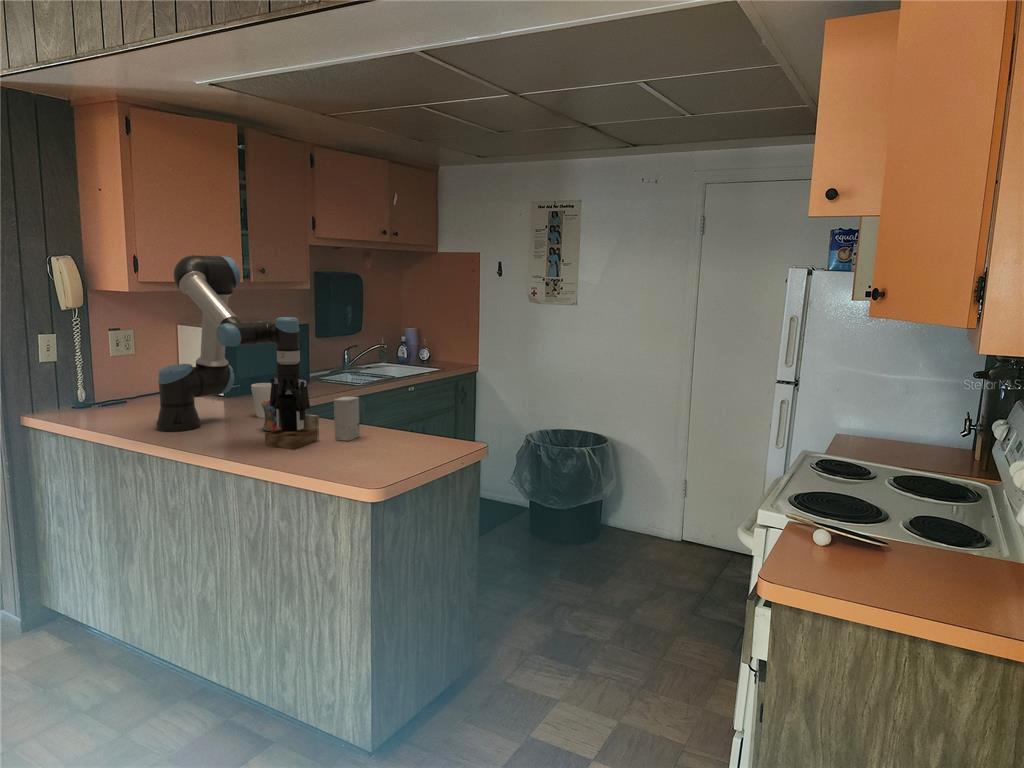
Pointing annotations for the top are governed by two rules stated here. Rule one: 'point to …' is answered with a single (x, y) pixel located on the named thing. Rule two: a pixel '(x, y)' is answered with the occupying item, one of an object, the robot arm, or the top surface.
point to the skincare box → (346, 418)
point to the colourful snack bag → (269, 417)
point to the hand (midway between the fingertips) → (290, 427)
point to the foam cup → (260, 396)
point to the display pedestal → (295, 435)
